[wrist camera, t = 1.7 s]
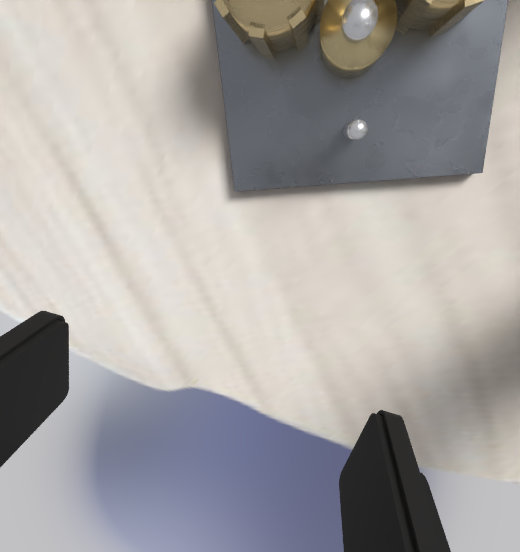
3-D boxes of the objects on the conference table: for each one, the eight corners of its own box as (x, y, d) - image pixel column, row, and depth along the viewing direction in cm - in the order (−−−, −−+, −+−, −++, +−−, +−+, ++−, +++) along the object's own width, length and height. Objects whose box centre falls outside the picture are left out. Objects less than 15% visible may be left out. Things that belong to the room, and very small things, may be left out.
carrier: (525, -180, 20) (612, -313, 14) (475, 171, 27) (519, 180, 21) (203, -102, 23) (166, -181, 18) (237, 189, 31) (219, 201, 25)
